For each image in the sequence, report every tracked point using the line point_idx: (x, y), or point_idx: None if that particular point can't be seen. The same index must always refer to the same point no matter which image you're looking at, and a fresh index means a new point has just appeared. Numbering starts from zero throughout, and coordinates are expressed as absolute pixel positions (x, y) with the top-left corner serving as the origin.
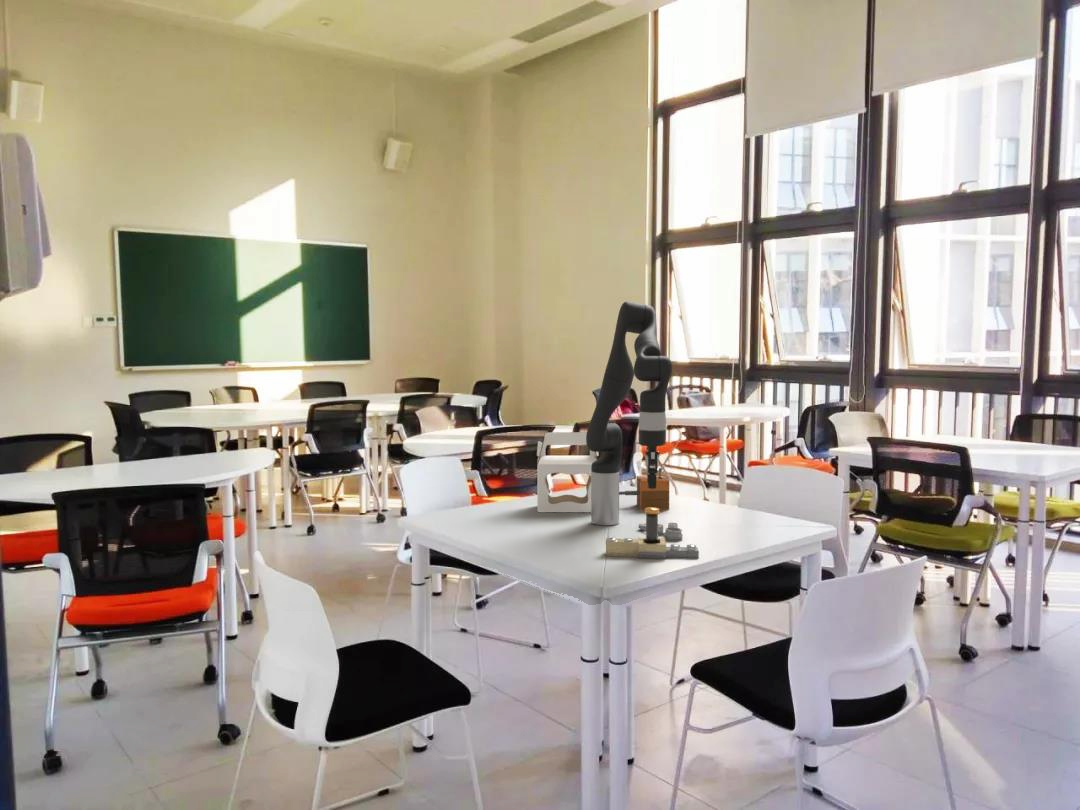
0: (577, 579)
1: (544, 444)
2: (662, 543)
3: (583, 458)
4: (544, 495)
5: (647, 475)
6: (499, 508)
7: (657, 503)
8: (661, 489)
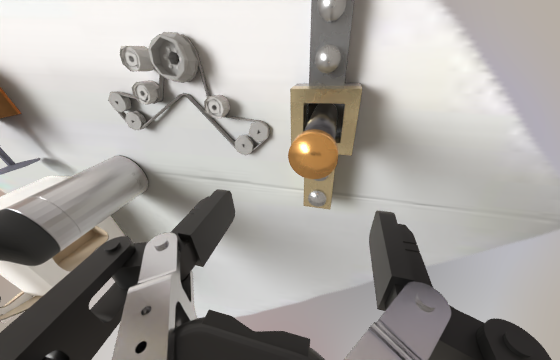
0: (485, 246)
1: (2, 312)
2: (347, 98)
3: None
4: None
5: (217, 243)
6: None
7: None
8: None
